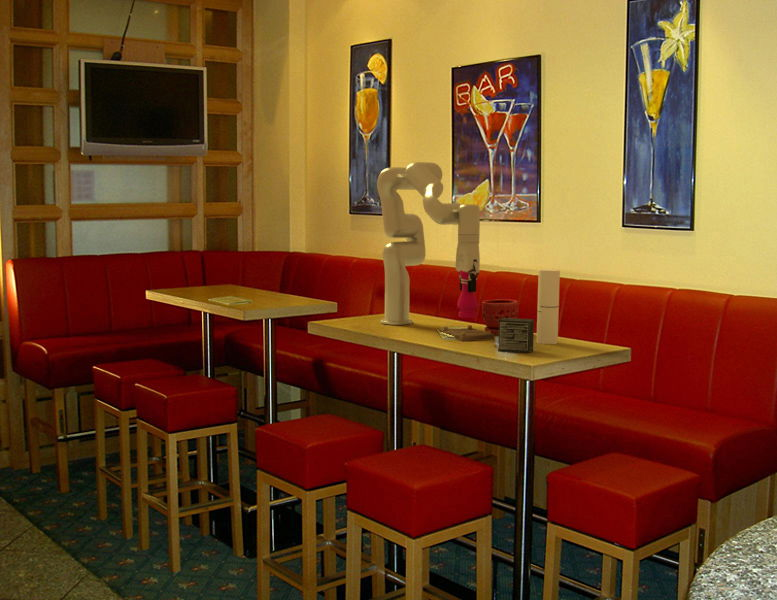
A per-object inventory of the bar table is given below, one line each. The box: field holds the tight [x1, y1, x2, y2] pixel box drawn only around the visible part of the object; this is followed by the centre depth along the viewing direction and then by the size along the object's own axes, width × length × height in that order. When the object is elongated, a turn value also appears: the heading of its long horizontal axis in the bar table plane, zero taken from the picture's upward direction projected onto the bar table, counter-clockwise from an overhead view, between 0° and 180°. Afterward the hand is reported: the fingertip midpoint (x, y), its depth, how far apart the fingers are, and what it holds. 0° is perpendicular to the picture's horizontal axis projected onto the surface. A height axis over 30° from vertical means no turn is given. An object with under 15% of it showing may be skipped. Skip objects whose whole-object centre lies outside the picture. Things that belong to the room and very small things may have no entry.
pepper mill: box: [456, 270, 478, 319], centre depth 332 cm, size 7×7×20 cm
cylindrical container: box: [536, 268, 561, 345], centre depth 321 cm, size 7×7×25 cm
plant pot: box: [481, 298, 519, 336], centre depth 342 cm, size 13×13×12 cm
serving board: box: [439, 324, 496, 342], centre depth 333 cm, size 17×13×3 cm
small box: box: [497, 318, 535, 354], centre depth 304 cm, size 11×6×10 cm, turn 69°
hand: (467, 290), depth 332 cm, fingers closed on pepper mill, 5 cm apart
